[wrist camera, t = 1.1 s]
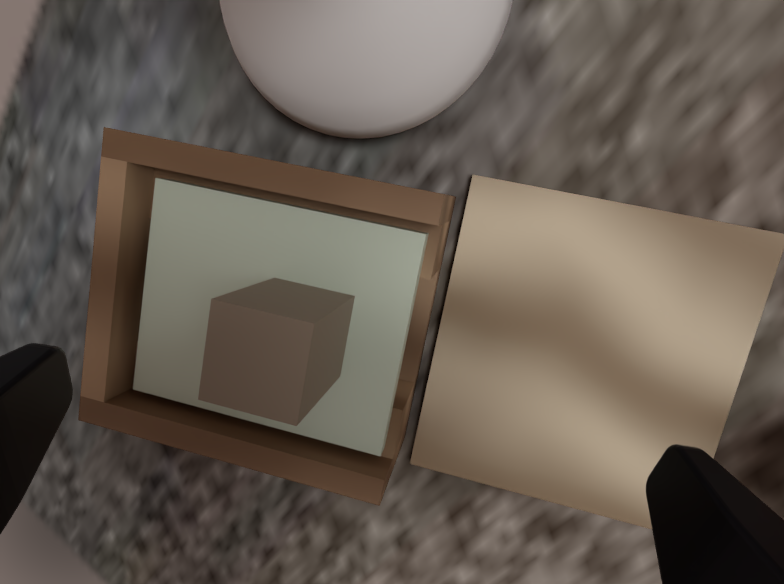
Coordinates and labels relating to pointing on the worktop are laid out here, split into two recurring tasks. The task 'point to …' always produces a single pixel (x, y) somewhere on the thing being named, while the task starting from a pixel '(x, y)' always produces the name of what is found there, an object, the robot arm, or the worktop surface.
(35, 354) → the robot arm
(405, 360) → the box
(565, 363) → the mat
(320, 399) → the lid
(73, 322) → the worktop surface
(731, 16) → the worktop surface
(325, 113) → the flower in vase
